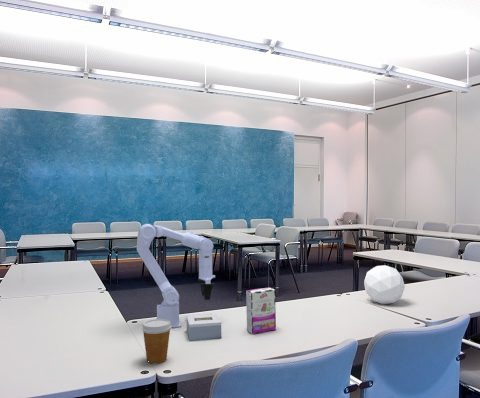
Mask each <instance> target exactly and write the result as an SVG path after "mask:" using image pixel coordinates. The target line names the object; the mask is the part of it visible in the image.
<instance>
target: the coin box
mask: <svg viewBox="0 0 480 398" xmlns="http://www.w3.org/2000/svg"><path fill="white" fill-rule="evenodd" d="M207 318H210V320H201V321H197V319H207ZM186 334H187V337H188V340H189V342H192V341H195V342H197V341H206V340H217V339H222V321H221V319H220V318H219V316H218V314H217V313H209V314H208V313H207V314H204V313H203V314H193V315H191V314H190V315H186Z"/></svg>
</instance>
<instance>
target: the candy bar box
mask: <svg viewBox="0 0 480 398" xmlns="http://www.w3.org/2000/svg"><path fill="white" fill-rule="evenodd" d="M245 295H246V296H245V298H246V299H245V300H246V307H245V308H246V331H247V332H248V333H250V334H251V335H256V334H261V333H268V332H273V331H276V330H277V322H276V321H277V318H276V315H277V314H276V313H277V312H276V310H277V309H276V288H275V289H274V288H273V287H264V288H254V289H250V290H249V289H248V290H246V291H245Z"/></svg>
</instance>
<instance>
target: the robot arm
mask: <svg viewBox="0 0 480 398" xmlns="http://www.w3.org/2000/svg"><path fill="white" fill-rule="evenodd" d="M155 237H156V238H160V237H166V238H170V239H173V240H178V241H180V242H181V244H182V245H183V246H185V247H189V248H192V249H195V250H198V280H197V281H198V283H199V287H200V291H201V295H202V297H203V298H204V300H205V301H210V299H211V295H212V290H213V288H214V286H215V283H214V282H211V281H212V279H215V278H216V275H215V274H213V255H212V254H213V249H214V246H215V245H214V244H213V241H212V240H211V239H209V238H207V237H205V236H203V235H197V234H195V233H194V232H193V231H189V232H188V231H186V232H184V233H181V232H179V231H176V230H174V229H170V228H167V227H165V226H162V225H157V224H155V225H154V224H151V223H144V224H142V225H141V226H140V228H139V230H138V232H137V239H136V241H137V242H136V252H137V253H138V254H139V256H140V259H142V262H143V263H144V265H145V267H146V268H147V270H148V272H149V273H150V275H151V276H152V278H153V280H154V282H155V283H156V285H157V286H158V288H159V290H160V291H161V296H162V298H163V300H162V301H161V304H156V319H165V320H169V321H170V324H171V325H172V327H171V328H180V327H181V326H182V325H181V321H180V302H179V301H180V293H179V292H178V290H177V289H176V288H175V287H174V286H173V285H172V284H171V283H170V282H169V280H168V278H167V277H166V275H165V273H164V272H163V270H162V268H161V267H160V265H159V263H158V261H157V260H156V259H155V257H154V256H153V254H152V252H151V250H150V246H151V244H152V241H153V240H154V239H155Z"/></svg>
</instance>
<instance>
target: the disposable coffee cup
mask: <svg viewBox="0 0 480 398" xmlns="http://www.w3.org/2000/svg"><path fill="white" fill-rule="evenodd" d="M172 328H173V327H172V325H171V324H170V321H169V320H165V319H155V318H154V319H149V320H146V321H144V322H143V323H142V326H141V330H142V332H143V333H142V334H143V339H144V340H143V341H144V348H145V356H146V361H147V360H148V361H149V362H150V363H149V364H152V363H158V364H162V363H164V362H166V361H167V360H168V359H167V357H168V351H169V341H170V334H171V333H170V332H171V329H172Z"/></svg>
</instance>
